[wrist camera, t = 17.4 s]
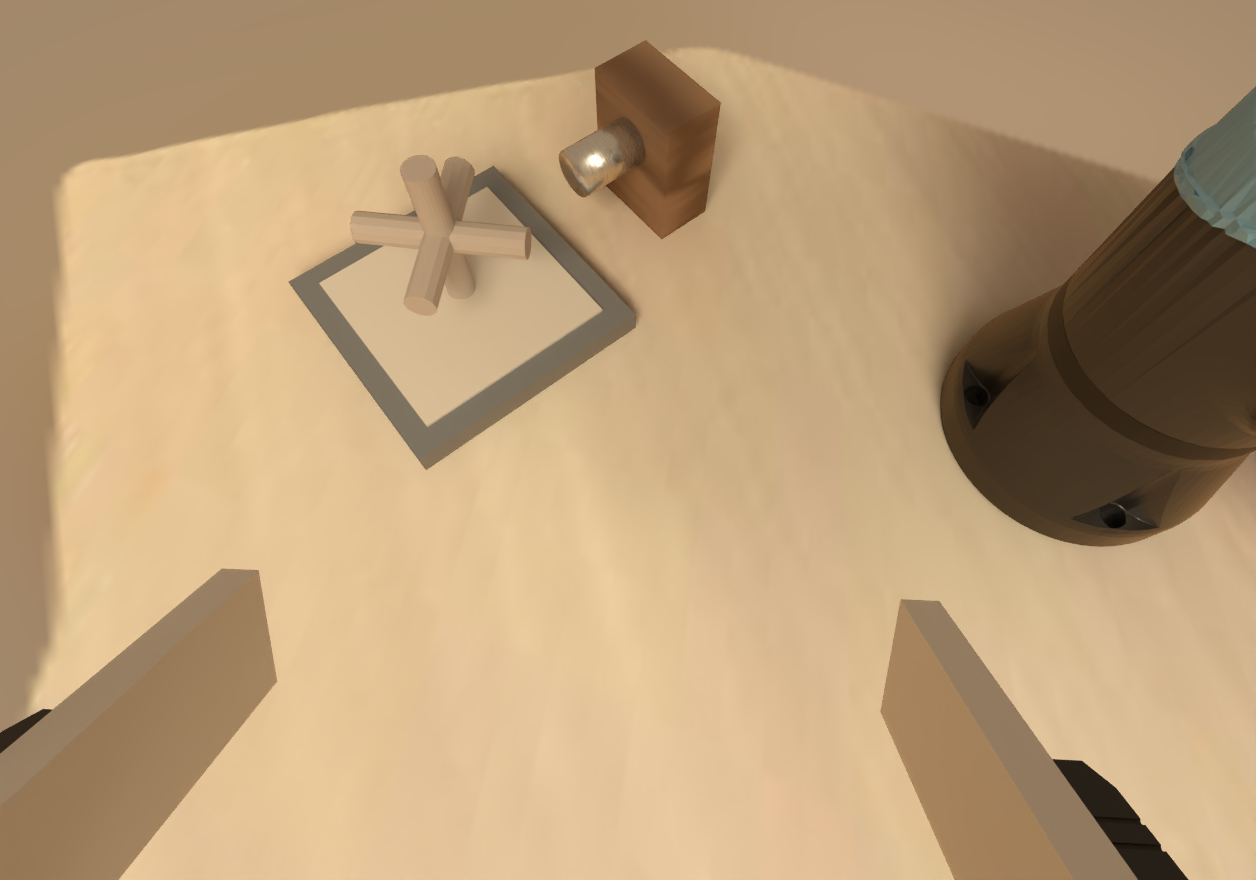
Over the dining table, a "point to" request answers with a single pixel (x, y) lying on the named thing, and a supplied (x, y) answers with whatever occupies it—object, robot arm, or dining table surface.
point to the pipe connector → (439, 232)
